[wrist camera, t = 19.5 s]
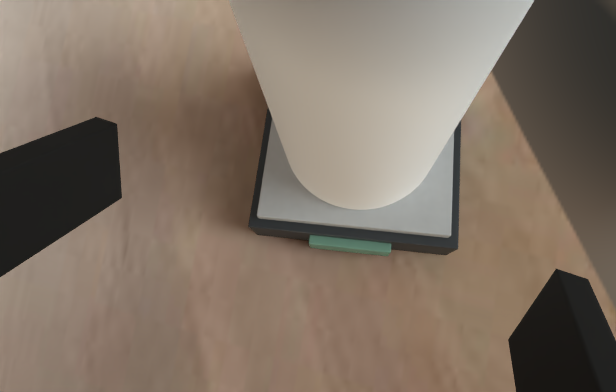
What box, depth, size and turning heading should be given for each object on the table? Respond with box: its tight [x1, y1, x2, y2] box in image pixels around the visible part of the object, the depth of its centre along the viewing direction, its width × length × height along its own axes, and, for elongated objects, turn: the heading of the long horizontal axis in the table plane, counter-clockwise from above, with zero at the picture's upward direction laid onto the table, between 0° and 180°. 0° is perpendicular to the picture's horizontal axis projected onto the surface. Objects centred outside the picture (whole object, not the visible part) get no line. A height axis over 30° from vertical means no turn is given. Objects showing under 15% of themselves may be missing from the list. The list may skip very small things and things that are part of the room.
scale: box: [249, 108, 461, 256], centre depth 23 cm, size 11×12×3 cm
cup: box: [229, 0, 534, 210], centre depth 14 cm, size 8×8×16 cm
